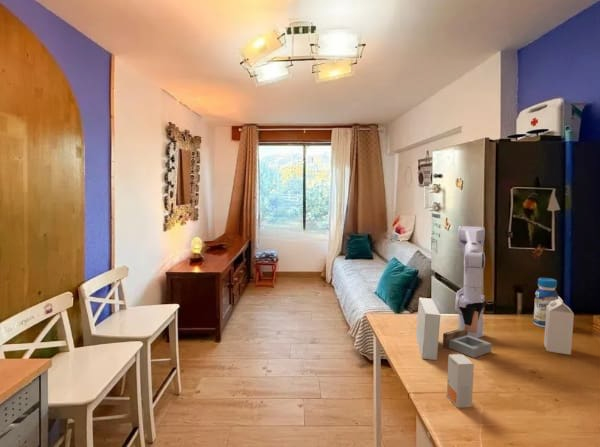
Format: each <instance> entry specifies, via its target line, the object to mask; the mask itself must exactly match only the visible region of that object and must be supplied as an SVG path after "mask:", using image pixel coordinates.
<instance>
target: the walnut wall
mask: <svg viewBox="0 0 600 447" xmlns="http://www.w3.org/2000/svg"><path fill="white" fill-rule="evenodd" d="M442 334H443V335H442V347H443V348H445V349H448V348H449V339H452V338H455V337H459V336H462V335H466V334H467V331H465V328H461V329H458V328H457V329H454V330H451V331H448V332H444V333H442Z"/></svg>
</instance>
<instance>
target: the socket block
mask: <svg viewBox="0 0 600 447" xmlns="http://www.w3.org/2000/svg"><path fill="white" fill-rule="evenodd" d="M492 344H493V343H491V342H488V341H486V340H484V339H481V338H475V337H472V336H470V335H467V334H466V335H462V336H459V337H455V338H452V339H449V347H448V348H449V349H452V350H453V351H457V352H459V353H461V354H463V355H465V356H469V357H470V358H473V359H474V358H478V357H479V356H480V357H481V356H483V355H486V354H490V353H491V352H492Z"/></svg>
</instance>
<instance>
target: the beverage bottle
mask: <svg viewBox="0 0 600 447" xmlns="http://www.w3.org/2000/svg"><path fill="white" fill-rule="evenodd" d="M537 286H538V288H537V289H536V291H535V293H534V295H535V297H534V308H533V309H534V310H533V324H535V325H536V326H538V327H541V328H545V323H546V308H547V305H548V304H549V303H550V302H551V301H555V300H557V299H558V296H559V294H558V292H557V290H556V288H557V286H558V281H557V279H554V278H549V277H539V278H538V279H537Z"/></svg>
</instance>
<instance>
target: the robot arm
mask: <svg viewBox="0 0 600 447" xmlns="http://www.w3.org/2000/svg"><path fill="white" fill-rule="evenodd" d="M485 234H486V229H485V227H484V226H468V225H467V226H466V225H465V226H464V225H459V226H458V228H457V245H458V248H460V249H461V250H462V252H463V287H462V288H460V289H459V290H457V291H456V292H455V311H456V312H458V317H457V318H458V321H457V322H458V323H457V330H458V329H461V328H465V324H466V325H469V326H471V324H472V319H473V315H474V312H475V311H477V312H478V327H477V333H470V332H467V335H470V336H472V337H475V338H478V339H480V338H483V337H484V336H485V335H486V334H485V333H484V317H483V315H482V314H483V313H484V308H485V306H486V303H485V302H484V301H485V298H486V297H485V295H484V294H482V290H483V288H482V286H483V270H484V269H485V264H486V256H485V252H483V250H482V249H483V246H484V241H485Z"/></svg>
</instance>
